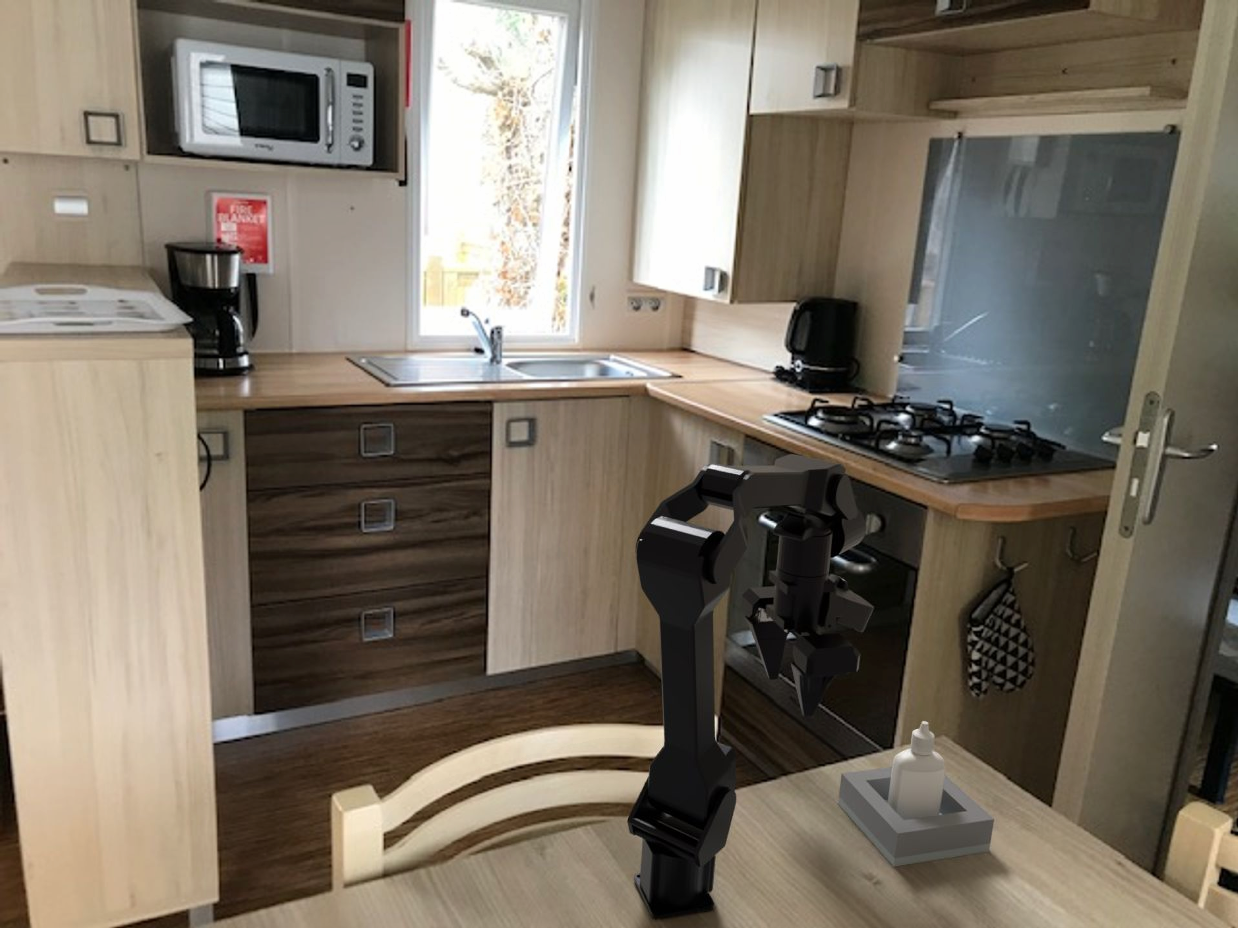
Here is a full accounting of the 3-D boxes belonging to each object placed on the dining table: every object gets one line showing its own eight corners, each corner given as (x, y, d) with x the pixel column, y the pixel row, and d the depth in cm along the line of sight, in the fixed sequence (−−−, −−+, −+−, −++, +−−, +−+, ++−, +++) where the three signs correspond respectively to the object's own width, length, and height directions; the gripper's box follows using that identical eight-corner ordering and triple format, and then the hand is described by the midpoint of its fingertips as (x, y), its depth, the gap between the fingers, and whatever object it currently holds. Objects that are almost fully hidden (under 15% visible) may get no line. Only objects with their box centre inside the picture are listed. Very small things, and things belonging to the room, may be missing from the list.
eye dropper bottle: (936, 835, 112) (950, 737, 109) (884, 822, 114) (896, 725, 111) (939, 814, 116) (953, 719, 113) (889, 802, 118) (901, 708, 115)
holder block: (893, 866, 108) (897, 833, 107) (838, 803, 119) (841, 773, 118) (989, 851, 111) (994, 818, 110) (926, 791, 122) (930, 761, 121)
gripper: (912, 595, 106) (894, 730, 110) (828, 538, 123) (816, 657, 127) (815, 601, 103) (801, 740, 107) (744, 542, 120) (733, 663, 124)
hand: (789, 696), depth 116 cm, fingers open, 9 cm apart
